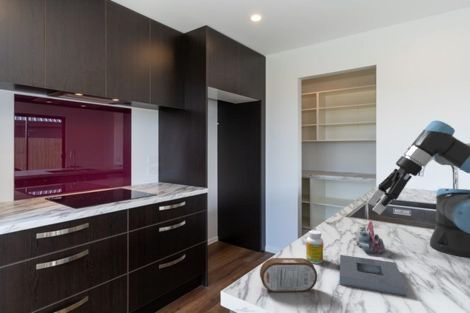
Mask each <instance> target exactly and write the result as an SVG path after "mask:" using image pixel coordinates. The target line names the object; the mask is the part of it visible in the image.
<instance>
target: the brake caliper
mask: <svg viewBox="0 0 470 313" xmlns="http://www.w3.org/2000/svg"><path fill="white" fill-rule="evenodd" d="M352 239H353V241H355V244H352V246H355V247H357V246H358V247H359V248H361V249H362V251H363V252H364V253H366V254H379V255H380V254H382V253H383V252H384V251H385V249H386V248H385V247H386V246H385V244H384V240H383V238H381V237H379V234H375V230H374V225H373V221H372V220H370V221H369V222H368V224H367V228H366V226H365V225H364V226H360V227H359V230H357V231H356V234H355V236H353V237H352Z"/></svg>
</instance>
